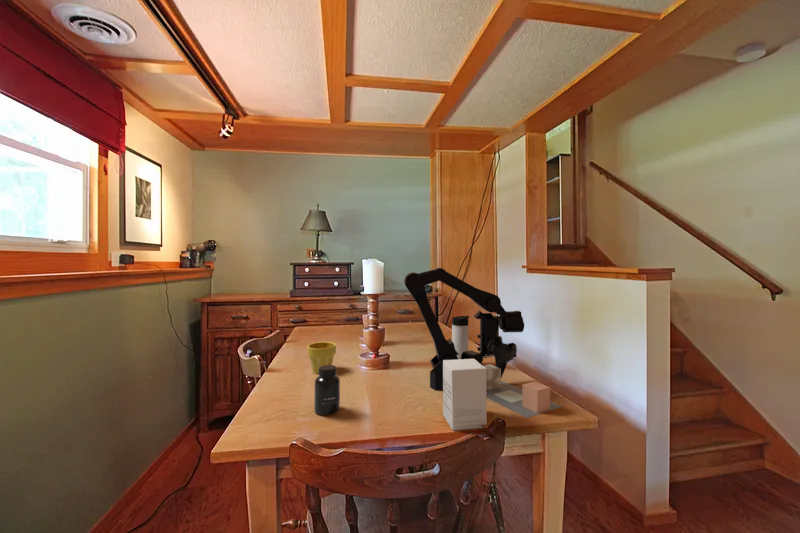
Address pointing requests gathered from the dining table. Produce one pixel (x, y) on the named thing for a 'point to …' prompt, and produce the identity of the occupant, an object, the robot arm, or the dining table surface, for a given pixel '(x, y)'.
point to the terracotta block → (536, 397)
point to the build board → (513, 399)
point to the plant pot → (321, 354)
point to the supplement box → (464, 394)
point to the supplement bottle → (327, 391)
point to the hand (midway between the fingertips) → (489, 381)
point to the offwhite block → (493, 377)
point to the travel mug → (460, 334)
